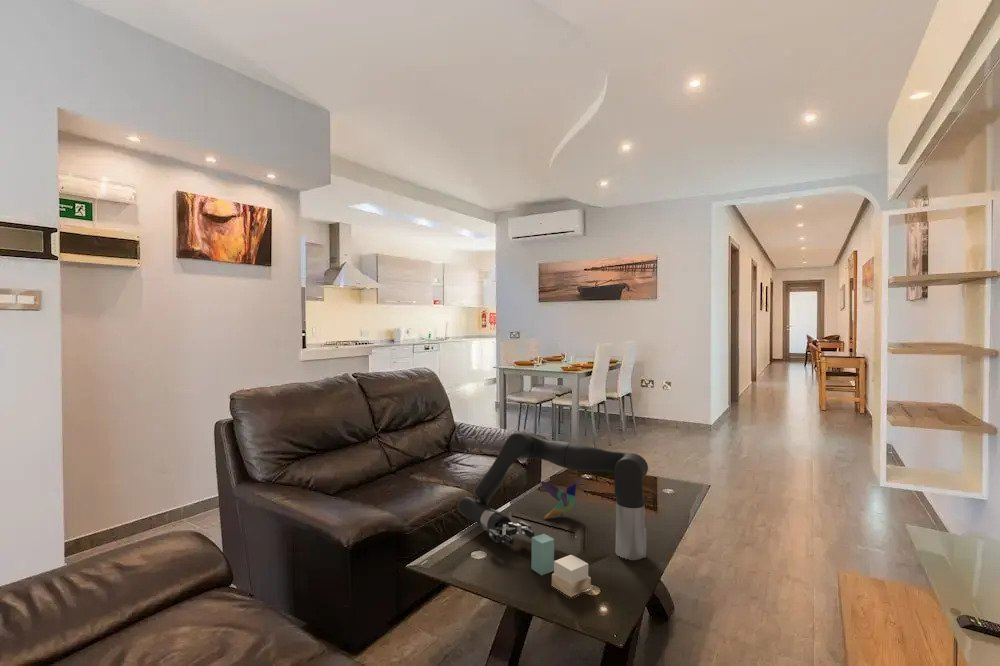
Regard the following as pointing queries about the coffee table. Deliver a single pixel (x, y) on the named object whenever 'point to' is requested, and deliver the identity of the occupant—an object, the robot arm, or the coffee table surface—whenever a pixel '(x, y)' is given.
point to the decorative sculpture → (561, 498)
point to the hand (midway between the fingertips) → (523, 539)
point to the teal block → (542, 554)
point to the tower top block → (571, 569)
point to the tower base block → (569, 588)
